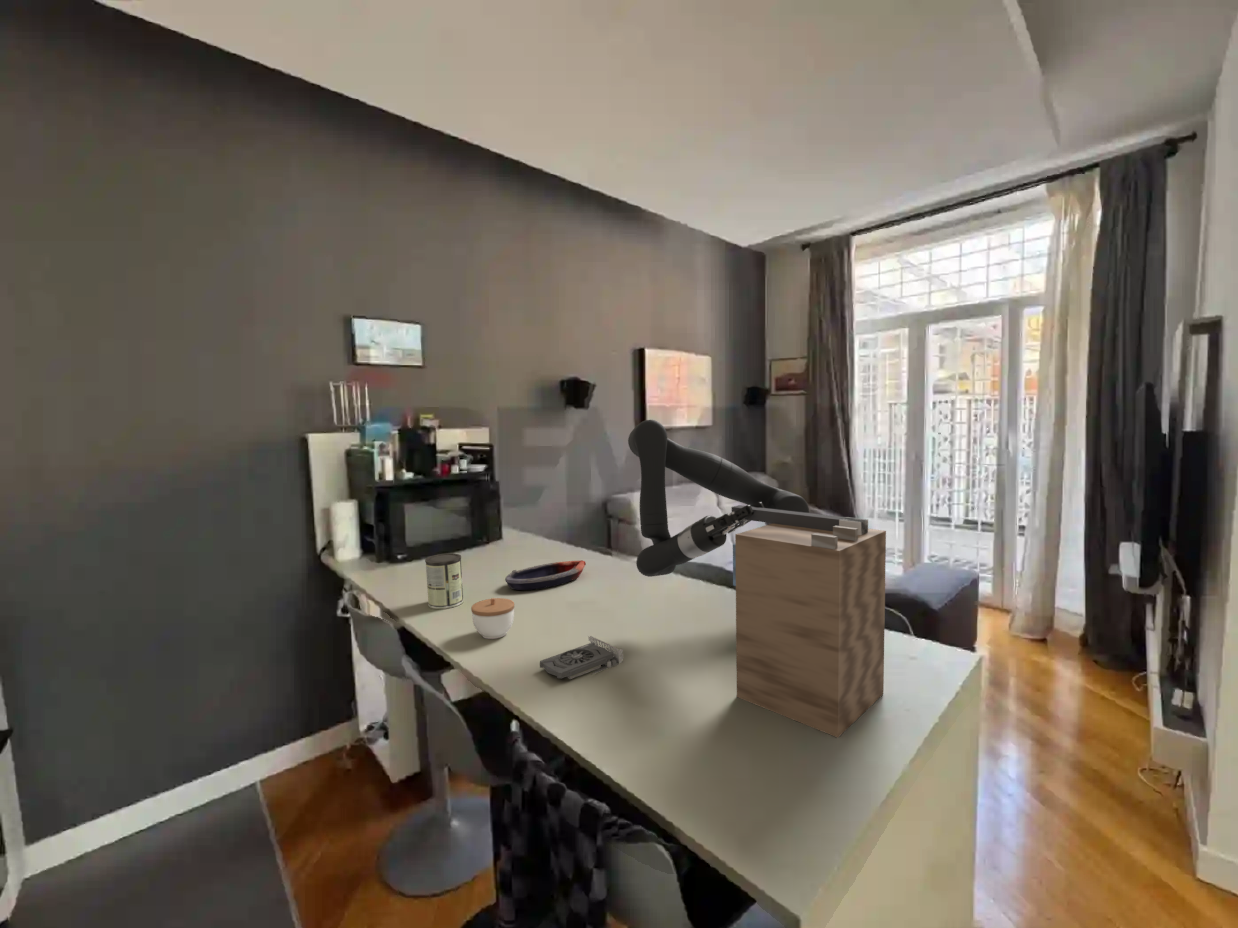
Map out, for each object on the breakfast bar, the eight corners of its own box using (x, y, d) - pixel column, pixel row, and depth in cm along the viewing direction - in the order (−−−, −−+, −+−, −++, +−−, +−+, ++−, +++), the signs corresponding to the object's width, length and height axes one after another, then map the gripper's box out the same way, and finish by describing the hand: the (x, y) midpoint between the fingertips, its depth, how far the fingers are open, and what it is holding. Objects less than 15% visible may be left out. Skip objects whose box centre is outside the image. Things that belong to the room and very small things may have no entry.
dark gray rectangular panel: (739, 515, 123) (739, 505, 123) (868, 532, 103) (868, 519, 103) (731, 517, 121) (731, 507, 121) (860, 535, 101) (860, 522, 101)
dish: (496, 586, 183) (495, 571, 183) (574, 568, 202) (574, 555, 201) (517, 597, 171) (517, 582, 170) (599, 578, 189) (598, 563, 189)
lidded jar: (491, 646, 134) (489, 608, 134) (463, 636, 141) (462, 600, 140) (524, 631, 143) (522, 596, 142) (496, 623, 149) (495, 589, 149)
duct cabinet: (785, 661, 122) (785, 509, 119) (883, 693, 107) (886, 520, 104) (734, 695, 108) (732, 523, 105) (837, 737, 93) (839, 538, 90)
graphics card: (591, 633, 133) (623, 647, 124) (592, 648, 133) (624, 664, 124) (530, 654, 123) (559, 671, 113) (531, 670, 123) (561, 689, 114)
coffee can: (436, 597, 172) (434, 553, 171) (468, 597, 171) (466, 553, 170) (421, 609, 162) (418, 561, 161) (455, 609, 161) (453, 562, 160)
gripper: (675, 527, 126) (730, 495, 114) (712, 518, 135) (766, 488, 124) (689, 558, 123) (746, 529, 112) (726, 546, 133) (782, 518, 122)
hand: (756, 507), depth 118 cm, fingers open, 4 cm apart
